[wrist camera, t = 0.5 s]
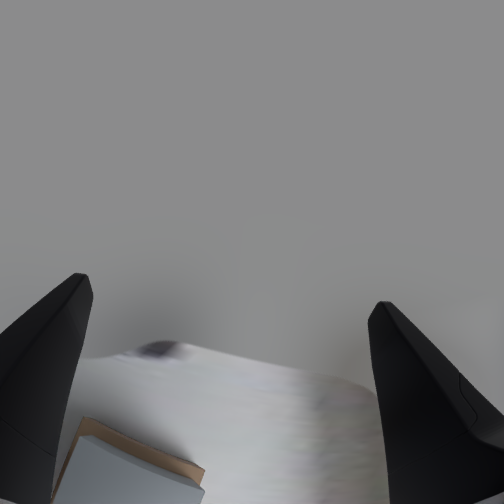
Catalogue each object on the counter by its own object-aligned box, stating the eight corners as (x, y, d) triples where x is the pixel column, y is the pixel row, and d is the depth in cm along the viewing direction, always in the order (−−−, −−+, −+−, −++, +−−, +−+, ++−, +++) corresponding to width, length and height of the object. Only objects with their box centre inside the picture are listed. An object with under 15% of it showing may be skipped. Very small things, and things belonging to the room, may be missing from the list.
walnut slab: (163, 546, 13) (168, 565, 10) (60, 502, 12) (46, 514, 9) (194, 463, 18) (205, 470, 15) (93, 418, 17) (83, 416, 14)
